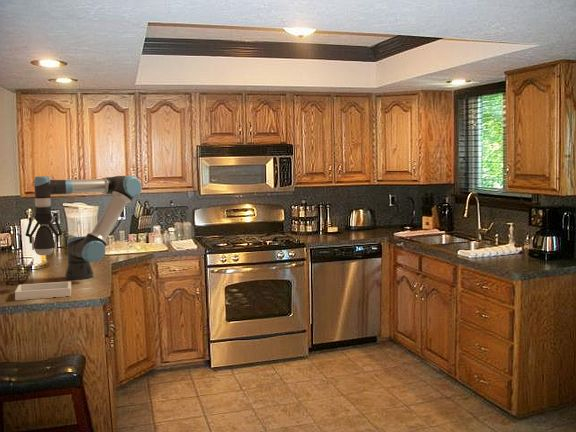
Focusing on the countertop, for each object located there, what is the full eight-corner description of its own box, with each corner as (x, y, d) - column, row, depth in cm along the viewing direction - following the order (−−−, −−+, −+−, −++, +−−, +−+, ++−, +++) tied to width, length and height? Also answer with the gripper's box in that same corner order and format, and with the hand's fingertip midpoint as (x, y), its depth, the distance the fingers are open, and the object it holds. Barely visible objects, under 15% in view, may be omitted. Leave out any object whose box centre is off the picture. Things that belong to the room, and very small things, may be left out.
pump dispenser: (51, 252, 314) (50, 224, 313) (58, 254, 307) (57, 225, 305) (31, 254, 308) (30, 225, 307) (37, 256, 300) (36, 226, 299)
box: (71, 289, 304) (71, 281, 303) (70, 296, 286) (70, 288, 286) (19, 292, 296) (18, 284, 295) (15, 300, 278) (14, 292, 278)
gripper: (66, 205, 312) (68, 247, 314) (19, 206, 305) (21, 249, 307) (66, 206, 305) (67, 249, 307) (18, 207, 298) (19, 251, 300)
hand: (44, 249), depth 307 cm, fingers closed on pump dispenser, 10 cm apart
